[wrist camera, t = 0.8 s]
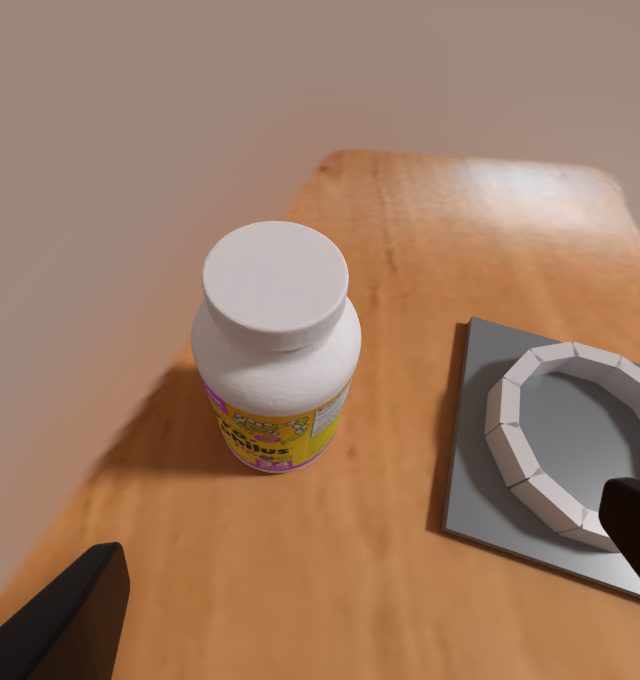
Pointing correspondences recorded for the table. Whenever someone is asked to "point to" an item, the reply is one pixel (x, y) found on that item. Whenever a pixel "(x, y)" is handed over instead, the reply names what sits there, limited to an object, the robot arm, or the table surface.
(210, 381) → the supplement bottle
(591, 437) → the socket plate
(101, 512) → the table surface
